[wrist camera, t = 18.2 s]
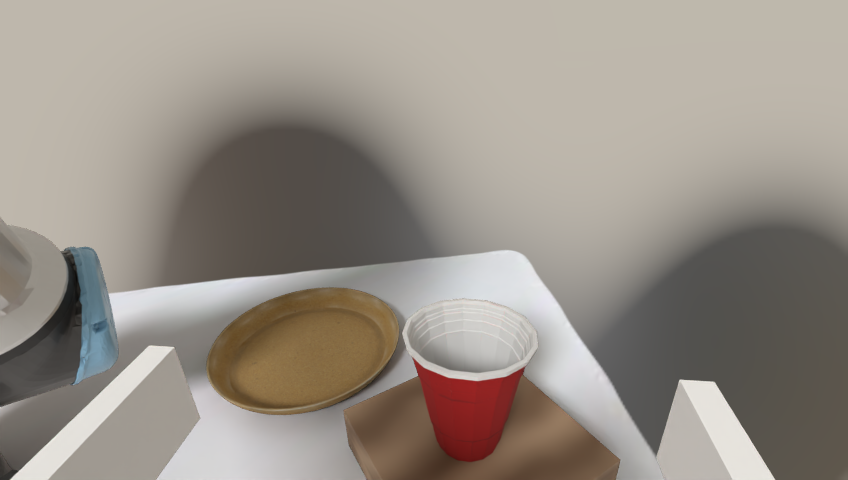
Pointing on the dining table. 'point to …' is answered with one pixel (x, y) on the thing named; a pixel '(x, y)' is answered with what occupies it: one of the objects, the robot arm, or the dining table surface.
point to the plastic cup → (469, 370)
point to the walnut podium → (494, 475)
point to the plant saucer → (303, 350)
